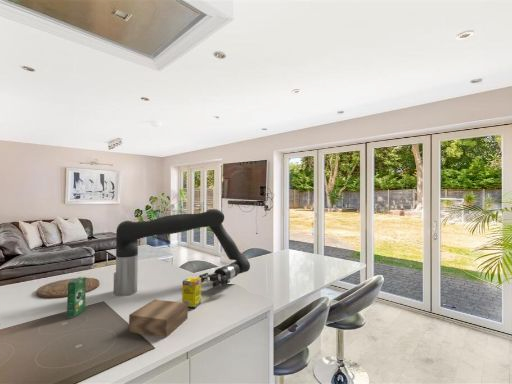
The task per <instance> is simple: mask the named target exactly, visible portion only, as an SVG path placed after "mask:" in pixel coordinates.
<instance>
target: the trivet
mask: <svg viewBox="0 0 512 384" xmlns="http://www.w3.org/2000/svg"><path fill="white" fill-rule="evenodd" d="M76 278H77V277H73V278H65V279H61V280H56V281H53V282H50V283H46V284H44V285H42V286H39V288H37V289H36V296H37V297H39V298H41V299H64V298H68V282H70V281H72V280H74V279H76ZM99 286H100V280H99V279H97V278H94V277H86V287H85V294H86V293H90V292H91V291H94V290H96V289H97V288H99Z"/></svg>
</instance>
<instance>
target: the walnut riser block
mask: <svg viewBox="0 0 512 384" xmlns="http://www.w3.org/2000/svg"><path fill="white" fill-rule="evenodd" d="M188 309H189V308H188V303H182V301H171V300H163V299H153V300H150V301H149V302H148V303H146V304H145V305H143V306H141V307H140V308H137V309H136V310H135V311H133V312H132V313H129V317H128V323H129V324H128V333H134V334H139V335H140V334H141V335H148V336H153V337H160V338H168V337H169V336H170V335H171V334H172V333H173V332H174V331H175V330H177V329H178V328H179V327H180V326H182V324H183V323H185V322H186V321H187V320H188V317H189V316H188V314H189V313H188V311H189V310H188Z"/></svg>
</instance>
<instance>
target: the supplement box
mask: <svg viewBox="0 0 512 384" xmlns="http://www.w3.org/2000/svg"><path fill="white" fill-rule="evenodd" d="M181 282H182V291H181V292H182V293H181V294H182V298H181V303H188V309H193V310H194V309H197V307H198V306H199V305H201V304H202V283H201V278H199V277H197V276H196V277H195V276H188V277H186V278H185V279H184V280H182V281H181Z"/></svg>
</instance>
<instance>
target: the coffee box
mask: <svg viewBox="0 0 512 384" xmlns="http://www.w3.org/2000/svg"><path fill="white" fill-rule="evenodd" d="M75 278H76V279H74V280H72V281H70V282H68V297H66V298H67V300H66V301H67V306H66V318H67V319H74V318H75V317H77V316H78V315H79V314H80V313H82V312H84V311H85V310H86V293H85V287H86V278H87V277H86V276H78V277H75Z"/></svg>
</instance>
